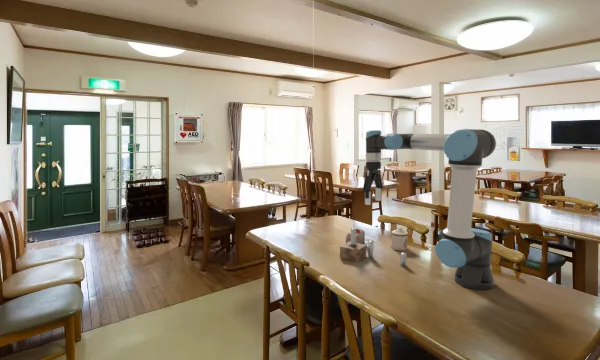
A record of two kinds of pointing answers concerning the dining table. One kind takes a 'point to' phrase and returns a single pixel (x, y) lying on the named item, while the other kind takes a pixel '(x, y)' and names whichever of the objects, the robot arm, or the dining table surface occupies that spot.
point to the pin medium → (370, 249)
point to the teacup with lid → (399, 239)
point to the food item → (357, 236)
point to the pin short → (403, 259)
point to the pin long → (353, 237)
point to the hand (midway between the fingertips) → (373, 202)
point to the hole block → (353, 252)
